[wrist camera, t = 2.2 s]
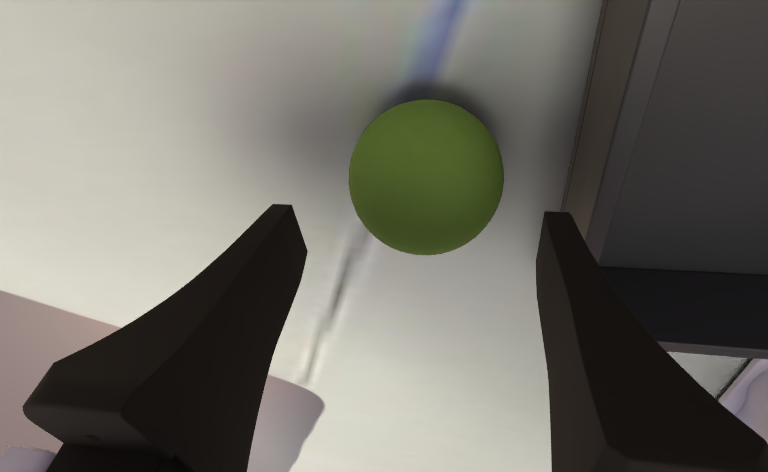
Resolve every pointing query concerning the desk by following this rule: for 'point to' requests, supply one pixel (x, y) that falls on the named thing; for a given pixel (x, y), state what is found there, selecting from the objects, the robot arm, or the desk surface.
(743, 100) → the open box
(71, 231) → the desk surface
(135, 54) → the desk surface
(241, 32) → the desk surface
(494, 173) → the pea ball
